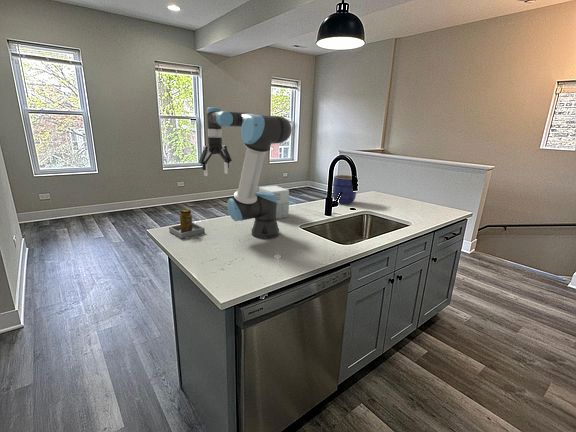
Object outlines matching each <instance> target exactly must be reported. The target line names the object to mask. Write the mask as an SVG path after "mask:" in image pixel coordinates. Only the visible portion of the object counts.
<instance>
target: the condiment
mask: <svg viewBox="0 0 576 432" xmlns="http://www.w3.org/2000/svg"><path fill="white" fill-rule="evenodd" d="M179 212H180V213H179V214H180V216H179V221H180V222H179V225H181V230H179V232H181V233H184V232H188V231H192V230H193V228H192V222H193V217H192V212H191V209H188V208H184V209H183V208H182V209H180V211H179Z"/></svg>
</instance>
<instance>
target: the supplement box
mask: <svg viewBox="0 0 576 432" xmlns="http://www.w3.org/2000/svg"><path fill="white" fill-rule="evenodd" d="M258 188H259V191H261V192H269V193H273V194H275V195H276V197H277V213H276V220H277V219H283V217H284V218H289V209H290V189H287V188H284V187H280V186H278V185H267V186H258Z"/></svg>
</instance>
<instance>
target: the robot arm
mask: <svg viewBox="0 0 576 432" xmlns="http://www.w3.org/2000/svg"><path fill="white" fill-rule="evenodd" d="M206 120H207V121H206V122H207V123H206V124H207V136H208V137H207V142H208V143H207V144H208V145H203V148H202V152H201V155H200V158H199V160H198V163H199V164H201V165H202V166H201V167H202V171H203V176H204V177H208V176H209V174H208V164H207V163H208V161H209V160H210V158H211V157H212V155H216V154H217V155H219V156H220V157H221V158H222V160H223V161H224V162H223V173H224V174H225V175H228V174H229V167H230V166H229V165H230V164H229V163H231V162H232V160H233V159H232V158H231V156H230V154H229V151H228V148H227V145H225V144H224V145H222V144H223V138H222V135H223V132H222V129H223V128H222V127H224V128H225V127H229V128H230V127H234V128H235V127H238V128H239V127H241V129H240V133H241V135H240V136H241V141H242V142H243V144H244V147H245V148H246V150H245V155H244V160H243V164H242V169H241V174H240V179H239V183H238V184H239V185H238V189H237V190H236V191H235V192H234V193H233V198H231V197H230V198H229V199H228V200H227V202H226V203H227V204H226V205H227V211H228V214H229V217H231V219H232V220H233V221H235V222H238V221H239V222H242V221H247V220H251V219H254V222H253V225H252V228H251V235H252V236H253V237H255V238H257V239H272V238H273V239H274V238H277V237H278V236H279V235H280V228H279V225H278V222H277V219H276V213H277V197H276V195H275V194H273V193H269V192H261V191H258V189H257V188H258V186H259V185H258V184H259V181H260V177H261V173H262V169H263V165H264V160H265V157H266V153H268V152H269V151H270V150H271V147H272V146H271V145H273V144H276V145H277V144H282V143H284V142H286V141H287V140H289V138H290V137H291V134H292V130H293V129H292V124H291V122H290V121H289V120H288V119H287V118H285V117H283V116H280V115H279V116H278V115H275V116H274V115H261V114H254V113H252V112H248V111H247V112H242V111H241V112H240V111H227V110H221V108H220V107H210V106H209V107H207V109H206Z"/></svg>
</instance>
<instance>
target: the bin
mask: <svg viewBox="0 0 576 432" xmlns="http://www.w3.org/2000/svg"><path fill="white" fill-rule="evenodd" d="M192 228H193V230H192V231H188V232H184V233H181V232H179V230H181V225H180V224H177V225H173V226H169V227H168V229H169V234H171V235H174V236H175V237H177V238H179V239H180V240H184V239H188V238H192V237H195V236H199V235H203V234H206V231H205V227H203V226H201V225H199V224H197V223H194V222H193V221H192Z"/></svg>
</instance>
